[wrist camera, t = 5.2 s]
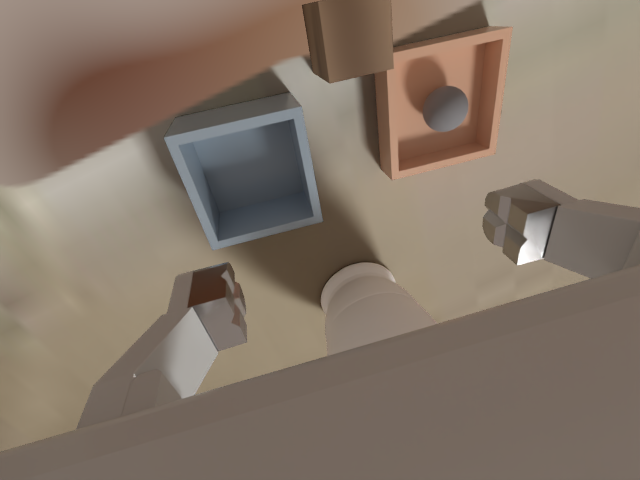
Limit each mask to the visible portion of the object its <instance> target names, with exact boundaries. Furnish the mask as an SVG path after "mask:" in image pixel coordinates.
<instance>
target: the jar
mask: <svg viewBox="0 0 640 480" xmlns="http://www.w3.org/2000/svg"><path fill="white" fill-rule="evenodd" d="M321 306H322V309H323V311H324V313H325V314H326V318H325V335H326V342H327V355H328V356H329V355H333V354H336V353H340V352H343V351H346V350H350V349H353V348H357V347H360V346H363V345H367V344H370V343H374V342H377V341H380V340H384V339H387V338H391V337H394V336H397V335H401V334H404V333H408V332H411V331H414V330H418V329H421V328H425V327H428V326H431V325H435V324H437V323H436V321H435V320H434V319H433V318H432V317H431V316H430V314H429V313H428V312H427V311H426V310H425V309H424V308H423V307H422V306H420V305H419V304H418V303H417V301H416V300H415V299H414V298H413V297H412V296H411V295H410V294H409V293H408V292H407V291H406V290H405V289H404V288H402V287H401V286H400V285H398V284H397V283H395V279H394V277H393V275H392V274H391V272H390V271H389V270H388V269H387V268H385V267H384V266H382V265H379V264H376V263H370V262H363V263H356V264H353V265H350V266H347V267H345V268H343V269H341V270H340V271H338V272H337V273H336V274H334V275H333V276H332V277H331V278H330V279H329V280H328V282H327V283H326V285H325V287H324V288H323V291H322V294H321Z"/></svg>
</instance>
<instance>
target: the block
mask: <svg viewBox="0 0 640 480" xmlns="http://www.w3.org/2000/svg"><path fill="white" fill-rule="evenodd" d="M302 8H303V15H304V21H305V27H306V33H307V39H308V45H309V51H310V57H311V63H312V69H313V73H314V74H316V75H317V76H319V77H320V78H322V79H324V80H325V81H327V82H328V83H334V82H338V81H342V80H347V79H351V78H356V77H360V76H364V75H369V74H373V73H378V72H382V71H386V70H391V69H394V61H393V35H392V10H391V0H322V1H318V2H314V3H309V4H304V5H302Z"/></svg>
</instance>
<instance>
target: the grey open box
mask: <svg viewBox="0 0 640 480" xmlns="http://www.w3.org/2000/svg"><path fill="white" fill-rule="evenodd" d="M164 140H165V142H166V144H167V147H168V149H169V151H170V154H171V156H172V158H173V161H174V163H175V165H176V167H177V170H178V172H179V174H180V177H181V179H182V181H183V184H184V186H185V188H186V190H187V193H188V195H189V197H190V200H191V202H192V204H193V207H194V209H195V211H196V214H197V216H198V218H199V220H200V223H201V225H202V227H203V230H204V232H205V234H206V237H207V239H208V241H209V243H210V246H211V248H212V250H216V249H220V248H224V247H228V246H231V245H235V244H239V243H243V242H247V241H251V240H254V239H258V238H262V237H266V236H270V235H274V234H278V233H281V232H285V231H289V230H293V229H297V228H301V227H305V226H308V225H312V224H316V223H320V222H323V218H322V213H321V207H320V202H319V197H318V191H317V186H316V181H315V175H314V170H313V165H312V159H311V154H310V149H309V143H308V138H307V133H306V127H305V122H304V117H303V111H302V106H301V105H300V104H299V103H298V101H297V100H296V99H295V98H294V96H293V95H292V94H291V93H290V92H287V93H283V94H278V95H274V96H269V97H265V98H260V99H256V100H251V101H247V102H242V103H238V104H233V105H229V106H224V107H220V108H215V109H211V110H207V111H202V112H198V113H193V114H189V115H184V116H180V117H175V119H174V121H173V123H172V124H171V126H170V128H169V129H168V131H167V133H166V134H165V136H164Z"/></svg>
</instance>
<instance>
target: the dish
mask: <svg viewBox="0 0 640 480" xmlns="http://www.w3.org/2000/svg"><path fill="white" fill-rule="evenodd" d="M512 29H513V27H500V26H489V27H484V28H479V29H475V30H470V31H466V32H461V33H456V34H452V35H447V36H443V37H438V38H433V39H429V40H424V41H420V42H415V43H410V44H406V45H401V46H397V47H393V61H394V69H391V70H386V71H382V72H378V73H374V74H375V90H376V105H377V120H378V135H379V150H380V166H381V170H382V171H383V172H384V173H385V174H386V175H387V176H388V177H389V178H390V179H391V180H395V179H399V178H403V177H407V176H411V175H415V174H419V173H422V172H426V171H430V170H434V169H438V168H442V167H446V166H450V165H454V164H458V163H462V162H466V161H470V160H474V159H478V158H482V157H486V156H490V155H494V154H495V152H496V145H497V137H498V130H499V123H500V116H501V108H502V101H503V94H504V87H505V79H506V72H507V65H508V58H509V50H510V43H511V36H512ZM442 86H454V87H457V88H459V89H460V90H462V91H463V92H464V93H465V95H466V97H467V99H468V113H467V115H466V118H465V119H464V121H463V122H462V123H461V124H460V125H459V126H458V127H456V128H455V129H453V130H450V131H446V132H439V131H435V130H433V129H431V128H430V127H429V126H428V125H427V124H426V123H425V121H424V118H423V105H424V102H425V100H426V98H427V97H428V96H429V94H430V93H431V92H433V91H434V90H435V89H437V88H439V87H442Z"/></svg>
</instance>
